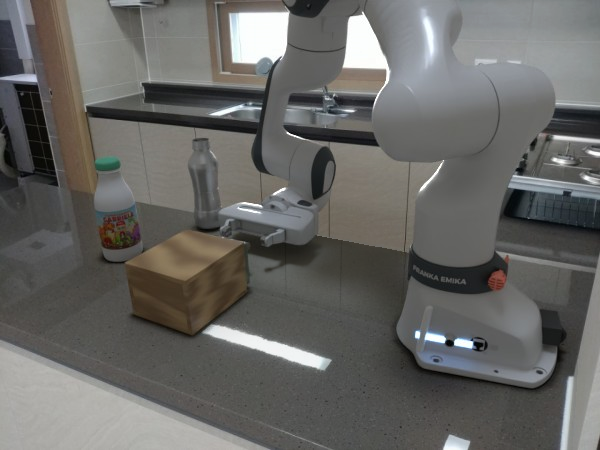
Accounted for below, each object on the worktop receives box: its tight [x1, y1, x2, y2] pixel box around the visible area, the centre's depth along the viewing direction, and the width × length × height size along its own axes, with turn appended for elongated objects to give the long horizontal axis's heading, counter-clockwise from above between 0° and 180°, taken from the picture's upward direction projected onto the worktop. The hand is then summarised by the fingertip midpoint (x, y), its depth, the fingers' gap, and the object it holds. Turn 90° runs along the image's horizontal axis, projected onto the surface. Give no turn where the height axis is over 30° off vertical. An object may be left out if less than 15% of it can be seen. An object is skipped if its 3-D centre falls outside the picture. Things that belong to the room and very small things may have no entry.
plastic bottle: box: [187, 137, 223, 230], centre depth 117 cm, size 6×7×20 cm
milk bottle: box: [93, 156, 144, 263], centre depth 105 cm, size 8×8×20 cm
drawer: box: [195, 230, 251, 285], centre depth 93 cm, size 18×11×8 cm, turn 150°
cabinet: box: [124, 228, 248, 336], centre depth 89 cm, size 15×13×10 cm
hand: (242, 237), depth 101 cm, fingers open, 8 cm apart
